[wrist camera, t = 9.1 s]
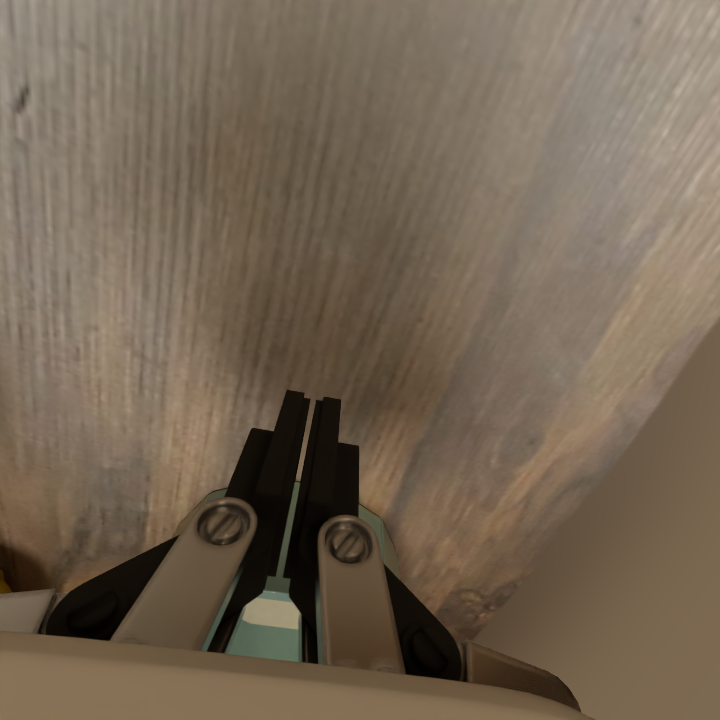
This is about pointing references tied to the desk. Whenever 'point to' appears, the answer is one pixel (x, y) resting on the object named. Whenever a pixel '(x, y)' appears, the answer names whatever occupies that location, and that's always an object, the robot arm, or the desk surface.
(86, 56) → the desk surface
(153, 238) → the desk surface
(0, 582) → the lemon
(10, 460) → the desk surface
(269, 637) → the pan
